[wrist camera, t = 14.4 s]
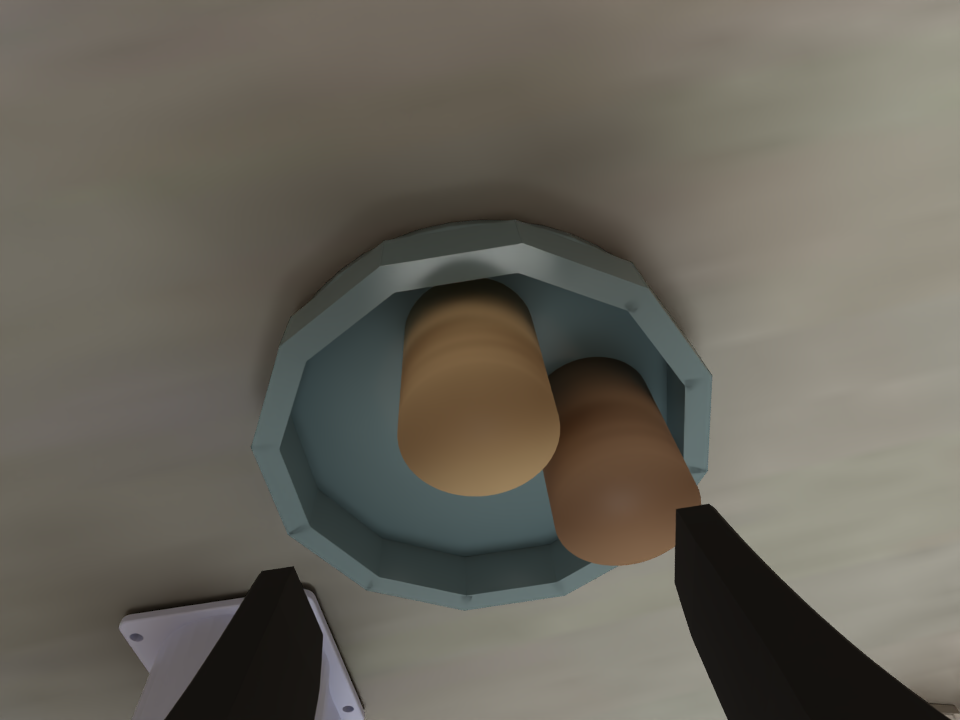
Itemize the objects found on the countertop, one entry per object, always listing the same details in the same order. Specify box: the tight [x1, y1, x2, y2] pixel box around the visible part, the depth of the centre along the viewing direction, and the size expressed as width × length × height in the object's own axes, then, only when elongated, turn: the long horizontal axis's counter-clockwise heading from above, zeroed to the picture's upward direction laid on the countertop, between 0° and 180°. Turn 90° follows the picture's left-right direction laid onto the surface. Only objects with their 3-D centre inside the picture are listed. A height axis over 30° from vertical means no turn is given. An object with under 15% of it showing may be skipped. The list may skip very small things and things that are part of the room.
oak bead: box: [397, 278, 560, 496], centre depth 18 cm, size 4×4×5 cm
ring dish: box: [251, 219, 712, 611], centre depth 22 cm, size 14×14×2 cm
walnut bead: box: [543, 357, 701, 566], centre depth 20 cm, size 4×4×5 cm
